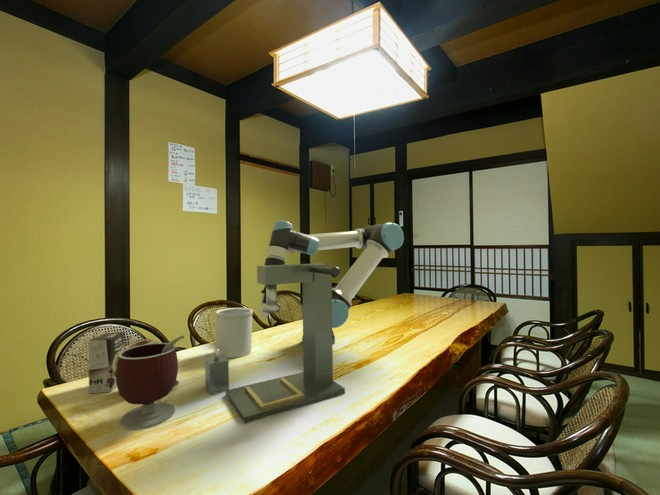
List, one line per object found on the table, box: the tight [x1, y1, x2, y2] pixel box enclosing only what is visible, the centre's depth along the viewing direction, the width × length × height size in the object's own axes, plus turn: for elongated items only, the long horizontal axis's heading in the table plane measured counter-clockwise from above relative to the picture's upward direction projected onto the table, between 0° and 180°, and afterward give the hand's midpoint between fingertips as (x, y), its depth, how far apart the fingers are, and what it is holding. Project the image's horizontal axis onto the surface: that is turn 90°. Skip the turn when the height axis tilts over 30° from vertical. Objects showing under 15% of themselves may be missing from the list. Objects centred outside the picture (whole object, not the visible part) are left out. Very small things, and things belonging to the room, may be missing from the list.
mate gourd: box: [116, 334, 185, 431], centre depth 83 cm, size 16×14×20 cm
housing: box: [204, 347, 230, 395], centre depth 100 cm, size 6×7×12 cm
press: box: [225, 263, 346, 424], centre depth 91 cm, size 30×26×38 cm
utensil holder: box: [215, 307, 254, 359], centre depth 133 cm, size 15×15×18 cm
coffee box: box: [88, 331, 125, 394], centre depth 101 cm, size 9×6×16 cm
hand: (263, 315), depth 117 cm, fingers open, 13 cm apart
